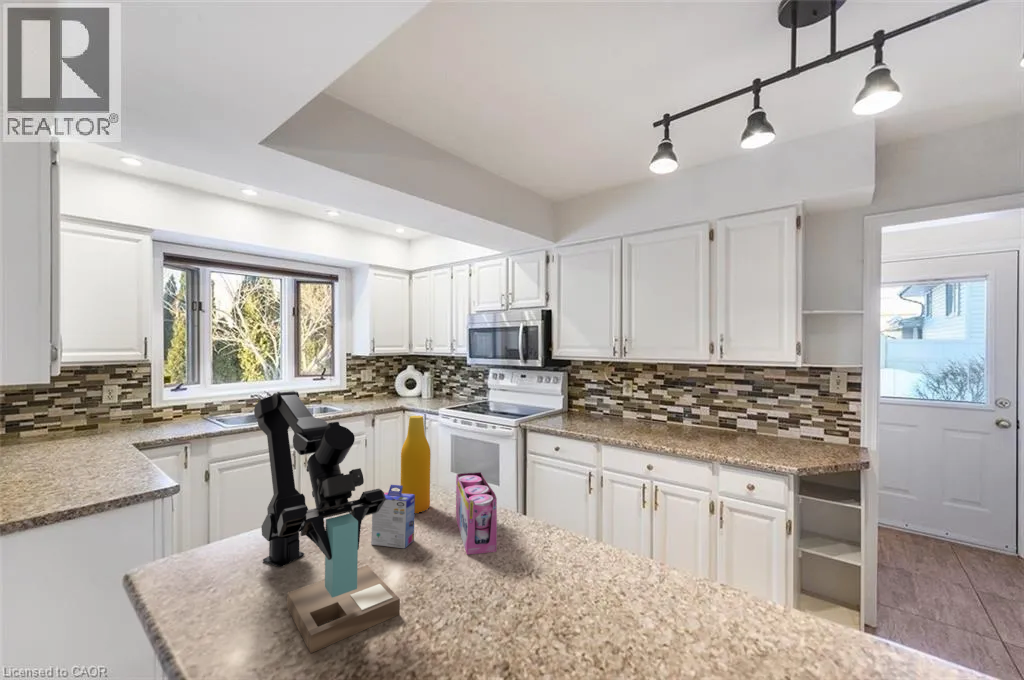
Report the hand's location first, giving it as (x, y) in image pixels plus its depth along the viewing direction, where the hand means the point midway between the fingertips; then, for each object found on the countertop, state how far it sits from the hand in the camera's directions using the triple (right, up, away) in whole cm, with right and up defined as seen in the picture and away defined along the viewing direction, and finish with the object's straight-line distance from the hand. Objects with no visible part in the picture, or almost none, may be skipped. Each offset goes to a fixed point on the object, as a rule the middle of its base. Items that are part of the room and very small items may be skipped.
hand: (344, 554), depth 77 cm
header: (-2, -14, +5) cm, 15 cm away
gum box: (+20, -14, +39) cm, 46 cm away
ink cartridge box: (0, -14, +34) cm, 37 cm away
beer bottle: (0, -14, +56) cm, 58 cm away
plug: (-1, -7, +1) cm, 7 cm away
